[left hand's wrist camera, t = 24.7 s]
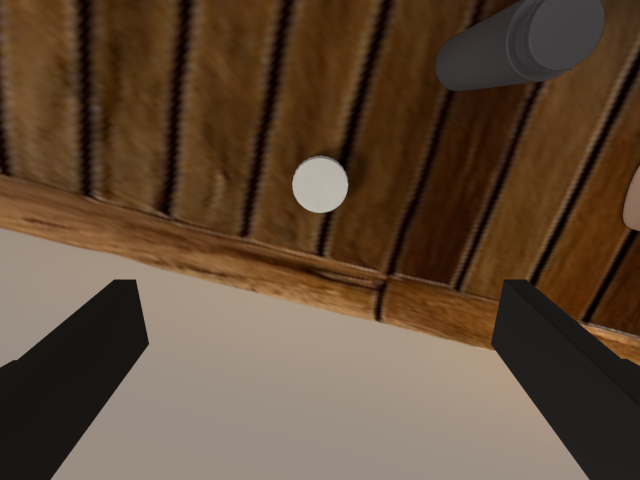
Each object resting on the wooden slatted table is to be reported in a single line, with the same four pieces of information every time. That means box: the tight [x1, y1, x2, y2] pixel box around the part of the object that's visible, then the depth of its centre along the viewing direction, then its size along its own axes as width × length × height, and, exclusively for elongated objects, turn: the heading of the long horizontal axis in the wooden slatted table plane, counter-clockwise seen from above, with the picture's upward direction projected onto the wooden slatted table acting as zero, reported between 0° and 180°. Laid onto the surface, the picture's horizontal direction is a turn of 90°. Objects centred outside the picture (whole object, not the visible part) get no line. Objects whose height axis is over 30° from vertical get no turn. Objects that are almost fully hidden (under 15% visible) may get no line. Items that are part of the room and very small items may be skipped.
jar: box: [436, 0, 605, 91], centre depth 26 cm, size 5×5×15 cm
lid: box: [292, 155, 348, 213], centre depth 36 cm, size 6×6×2 cm
